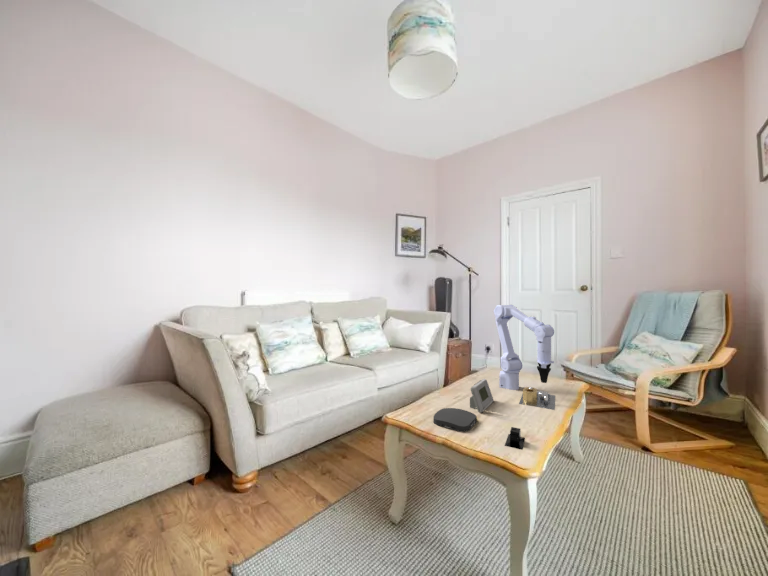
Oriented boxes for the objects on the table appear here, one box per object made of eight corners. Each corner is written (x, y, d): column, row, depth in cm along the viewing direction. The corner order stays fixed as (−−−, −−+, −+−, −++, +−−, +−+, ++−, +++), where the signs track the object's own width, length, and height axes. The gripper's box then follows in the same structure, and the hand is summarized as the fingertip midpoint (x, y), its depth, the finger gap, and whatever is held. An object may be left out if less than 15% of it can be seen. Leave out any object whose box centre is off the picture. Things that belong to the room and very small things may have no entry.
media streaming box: (445, 411, 131) (445, 404, 131) (479, 420, 122) (479, 412, 122) (429, 424, 119) (430, 416, 119) (466, 434, 110) (466, 426, 110)
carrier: (519, 405, 137) (519, 396, 137) (523, 392, 154) (523, 384, 154) (554, 411, 130) (554, 402, 130) (555, 397, 147) (555, 389, 147)
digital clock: (481, 414, 127) (481, 389, 127) (462, 408, 134) (462, 384, 134) (500, 404, 138) (500, 381, 138) (482, 399, 145) (482, 376, 145)
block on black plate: (507, 433, 112) (507, 420, 112) (528, 438, 108) (529, 425, 108) (501, 448, 101) (501, 434, 101) (525, 454, 97) (525, 440, 97)
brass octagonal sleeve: (522, 402, 139) (522, 391, 139) (523, 398, 143) (523, 387, 143) (536, 404, 136) (536, 393, 136) (537, 400, 141) (537, 389, 141)
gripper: (554, 354, 133) (554, 386, 133) (553, 349, 146) (553, 377, 146) (536, 353, 137) (536, 383, 137) (537, 347, 149) (537, 375, 149)
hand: (544, 380), depth 141 cm, fingers open, 7 cm apart
